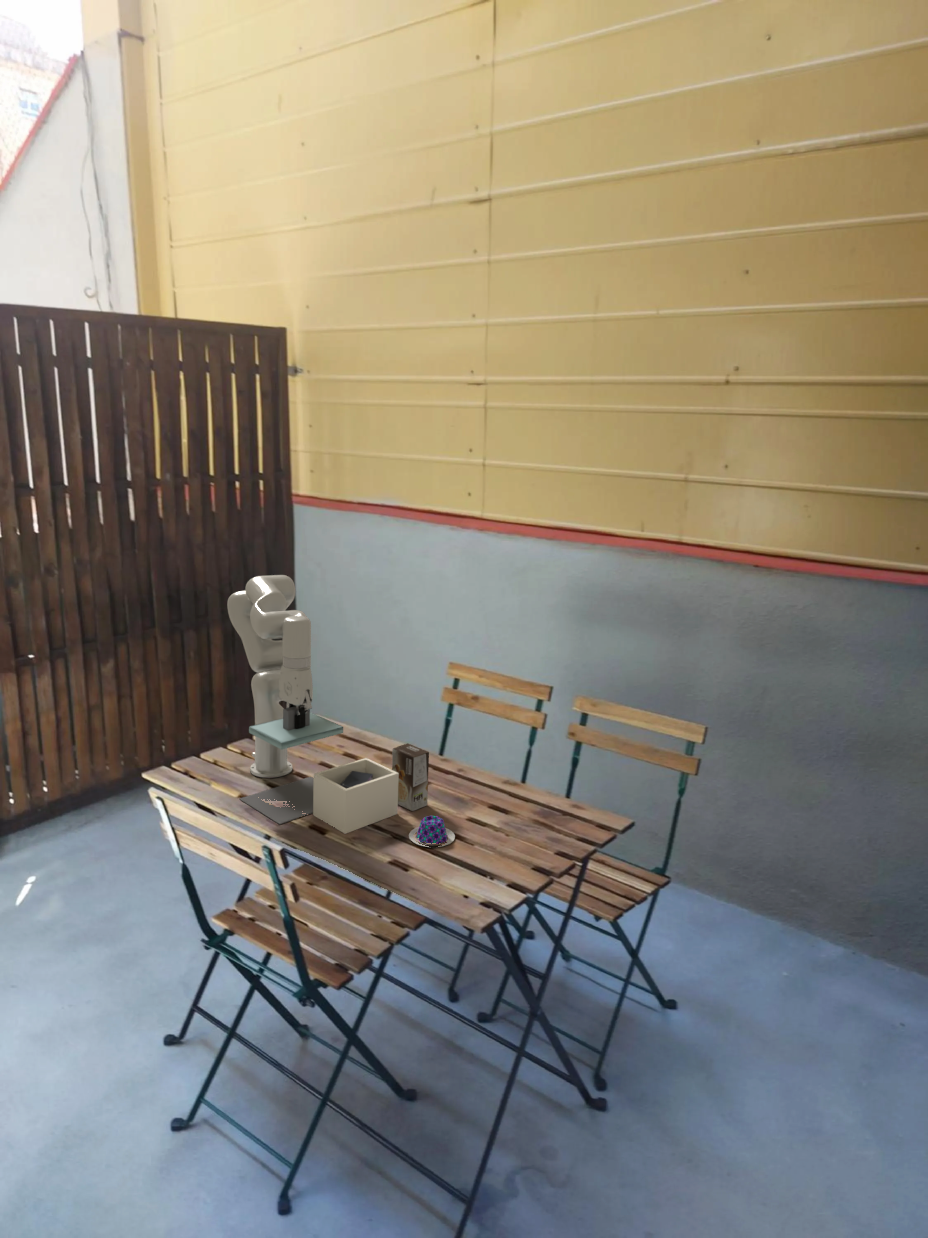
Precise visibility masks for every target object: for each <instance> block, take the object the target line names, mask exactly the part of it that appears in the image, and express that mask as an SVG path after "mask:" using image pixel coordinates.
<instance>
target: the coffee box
mask: <svg viewBox="0 0 928 1238" xmlns="http://www.w3.org/2000/svg"><path fill="white" fill-rule="evenodd" d="M391 755H392V759H391V760H392V761H391V765H392V766H391V770H393V771H395V772H397V773H399V780H398V806H401V807H403V808H405V809H407V810H409V811H412V812H414V811H417V810H419V809H422V808H424V807H427V806H428V798H429V797H428V792H429V791H428V790H429V788H428V787H429V768H430V767H429V765H430V764H429V762H430V752H429V751H428V750H425V749H423V748H420V747H418V746H415V745H413V744H410V743H404V744H401V745H398V746H397V747H394V748H392V754H391Z"/></svg>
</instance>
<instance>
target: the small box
mask: <svg viewBox="0 0 928 1238" xmlns="http://www.w3.org/2000/svg"><path fill="white" fill-rule="evenodd" d="M372 779H373V774H369V773H362V772H357V771H352V772H351V773H350V774H349V775H348V776H347V778H346V779H345V780H344V781H343V782H342V783H341V784H340V785H341V786H342V787H344V788H346V789H347V788H350V787H353V786H356V785H359V784H362V783H365V782H368V781H371V780H372Z"/></svg>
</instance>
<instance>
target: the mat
mask: <svg viewBox="0 0 928 1238" xmlns="http://www.w3.org/2000/svg"><path fill="white" fill-rule="evenodd" d="M313 786H314V776H313V777H312V776H308V777H305V778H301V779H298V780H295V781H292V782H289V783H285V784H282V785H279V786H276V787H272V788H270V789H266V790H263V791H260V792H257V793H253V794H250V795H247V796H244V797H240V798H239V801H241V802H243V803H245V804H246V805H248V806H249V807H251V808H252V809H254V811H255V810H256V811H257V812H259V813H260V814H262V815H263V816H265V817H267V818H269V819H270V820H272V822H274V823H276V824H278V825H279V826H280V825H283V824H286V823H288V822H292V821H296V820H297V818H298V819H300V818H299V817H301V816H304V815H306V816H308V815H307V814H309V815H312V814H313ZM258 797H259V798H258ZM261 799H262V800H263V799H265V801H268V800H269V799H270V800H271V801H276V800H277V801H287V803H286V804H289V805H288V806H290V807H288V806H287V805H286V806H287V807H286V806H285V805H283V806H285V807H281V808H280V807H274V806H273V805H269V803H265V802H264V801H262V800H261ZM267 799H268V800H267ZM274 799H275V800H274ZM270 800H269V801H270ZM289 801H290V802H289ZM271 804H272V803H271ZM283 804H285V802H283ZM292 804H293V805H292ZM293 806H295V807H293ZM292 807H293V808H292ZM294 809H295V810H294ZM302 811H303V812H302ZM302 813H306V814H302ZM304 817H305V816H304ZM301 818H302V817H301Z"/></svg>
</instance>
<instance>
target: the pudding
mask: <svg viewBox="0 0 928 1238" xmlns="http://www.w3.org/2000/svg"><path fill="white" fill-rule="evenodd" d="M416 832H417V835H416V837H417V838H419V839H418V840H419V841H420V843H421V842H426V843H431V844H432V843H436V844H439V843H442V844H443V843H445V841H446V842H447V843H445V845H442V846H438V847H437V848H441V847H444V846H447V845H450V844H451V843H453V842H454V840H455V838H456V835H455V833H454V831H452V830H451V829H449V828H447V827H446V824H445V821H444V819H443V818H441V817H440V816H438V815H436V816H435V815H429V816H425V817H422V819H421V821H420V823H419V826H417V827H415V828H413V829H412V830H410V832H409V833H408V838H409V840H410V841H412V842H413V844H416V845H418V846H421V847H427V848H430V847H429V846H425V845H426V844H425V845H422V844H423V843H422V844H419V843H418V842H416V841H415V840H414V838H412V837H414V836H413V835H414V834H415V833H416ZM417 838H416V839H417ZM418 840H417V841H418ZM439 845H440V844H439Z"/></svg>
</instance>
